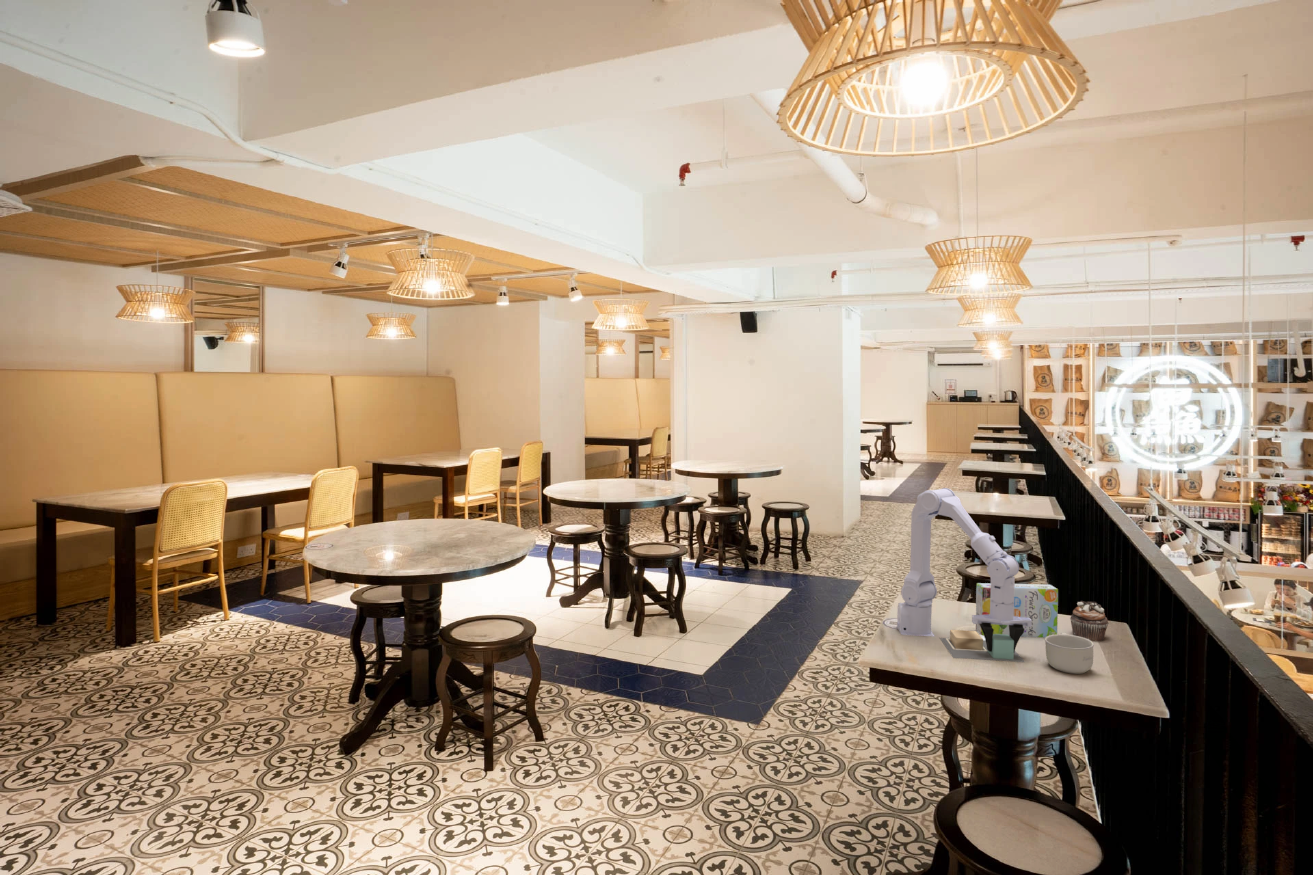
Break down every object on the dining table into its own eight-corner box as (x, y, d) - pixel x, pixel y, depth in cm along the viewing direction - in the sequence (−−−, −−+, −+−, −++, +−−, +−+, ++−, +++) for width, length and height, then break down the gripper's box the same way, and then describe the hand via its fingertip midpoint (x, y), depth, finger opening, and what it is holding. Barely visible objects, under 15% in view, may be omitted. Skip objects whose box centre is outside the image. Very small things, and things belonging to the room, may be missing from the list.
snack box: (1048, 633, 210) (1050, 583, 209) (1057, 640, 204) (1059, 588, 203) (974, 631, 212) (976, 581, 211) (981, 637, 206) (982, 586, 205)
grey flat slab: (953, 659, 188) (953, 657, 188) (939, 639, 204) (939, 637, 204) (1025, 664, 185) (1025, 661, 185) (1006, 643, 201) (1006, 641, 201)
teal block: (993, 658, 188) (993, 639, 188) (987, 651, 193) (988, 633, 193) (1013, 659, 187) (1014, 640, 187) (1007, 652, 192) (1007, 634, 192)
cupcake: (1062, 630, 212) (1064, 597, 212) (1095, 631, 212) (1096, 598, 211) (1080, 641, 203) (1082, 607, 202) (1115, 642, 202) (1116, 607, 202)
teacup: (1092, 682, 174) (1093, 650, 173) (1042, 672, 180) (1043, 642, 179) (1092, 664, 186) (1094, 634, 185) (1046, 656, 191) (1046, 627, 191)
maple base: (956, 648, 195) (956, 637, 195) (949, 639, 202) (950, 629, 202) (982, 649, 194) (983, 639, 194) (975, 641, 201) (976, 631, 201)
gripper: (977, 604, 186) (976, 654, 187) (1036, 606, 184) (1034, 658, 185) (970, 596, 193) (969, 645, 194) (1027, 599, 191) (1025, 648, 192)
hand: (1000, 650), depth 190 cm, fingers closed on teal block, 5 cm apart
